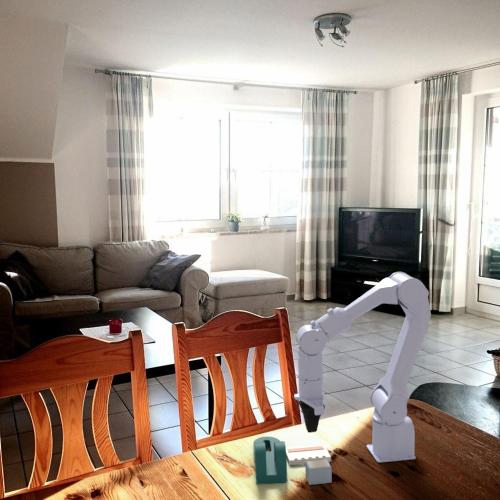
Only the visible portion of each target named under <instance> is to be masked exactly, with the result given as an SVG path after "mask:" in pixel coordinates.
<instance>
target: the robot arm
mask: <svg viewBox="0 0 500 500" xmlns="http://www.w3.org/2000/svg"><path fill="white" fill-rule="evenodd" d="M383 304H388V305H400V307H401V308H402V310H403V312H404V313H405V317H404V321H403V323H402V327H401V329H400V332H399V336H398V338H397V341H396V344H395V346H394V350H393V352H392V354H391V358H390V362H389V364H388V367H387V369H386V371H385V372H386V373H385V375H384V376H383V377H381V378H380V379H379V381H378V383H377V385H376V386H375V388H373V389H372V391H371V393H370V396H369V399H370V403H371V405H372V407H373V408H374V411H373V413H372V432H371V433H372V435H371V436H372V439H371V442H372V444H367V445H365V446H366V448H367V450H368V451H369V452H370V454H371V455H372V456H373V458H374V460H375V461H376V462H377V463H387V462H398V461H408V460H410V461H411V460H416V455H415V436H416V435H415V433H416V432H415V427H414V424H413V423H414V422H413V420H412V418H410V417H409V416H408V415H407V414H408V408H407V405H408V400H409V393H408V382H409V380H410V377H411V375H412V372H413V369H414V365H415V363H416V361H417V360H416V359H417V357H418V354H419V352H420V348H421V346H422V344H423V340H424V337H425V335H426V332H427V329H428V326H429V323H430V321H431V318H432V317H431V316H432V313H431V307H430V302H429V290H428V289H427V288H426V285H425V284H424V283H423V282H422V281H421V280H420V279H418V278H415V277H412V276H410V275H409V274H408V273H406V272H403V271H396V272H393V273H392V274H391V275H390V276H388V277H385V278H383V279H382V280H381V281H379V282H378V283H377V284H376V285H374V287H372V288H371V289H369V290H367V291H366V292H365V293H364V294H362V295H361V296H360V297H358V298H357V299H355V300H354V301H352V302H351V303H350V304H348V305H347V306H346V307H345V306H344V307H337V306H336V307H334V308H332V307H330V308H329V309H327V310H326V312H327V313H325V314H324V315H322V316H321V317H319V318H318V319H316V320H314V319H313V320H311V321H310V322H309V324H305V325H303V326H301V327H300V328H299V329H298V331H297V332H296V335H295V340H296V342H297V344H298V351H297V352H298V353H297V354H298V357H297V360H298V365H297V366H298V367H297V368H298V393H294V395H293V398H294V399H295V400H296V401H297V403H298V405H299V407H300V409H301V411H302V412H301V413H302V415H303V416H302V417H303V420H304V426H305V429H306V431H307V433H316V432H317V431H318V428H319V424H320V420H321V419H320V418H321V416H323V415H324V414H325V407H326V405H325V404H324V399H325V394H324V377H323V376H324V373H323V372H324V364H323V362H324V360H323V352H324V348H325V347H326V344H327V343H329V342H330V341H333V340H334V339H336V338H337V337H339V336H341V335H342V334H343V333H345V332H346V331H348V330H349V329H351V327H352V323H353V321H354V320H356V319H357V318H359V317H361V316H363V315H364V314H366V313H368V312H370V311H371V310H373V309H374V308H376V307H378V306H380V305H383Z"/></svg>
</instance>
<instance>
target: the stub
mask: <svg viewBox="0 0 500 500" xmlns="http://www.w3.org/2000/svg"><path fill="white" fill-rule="evenodd" d="M304 465H305V478H306V481H307V482H308V485H309V486H311V485H319V484H321V485H322V484H329V483H332V472H333V471H332V470H333V469H332V466H331V464H330V461H329V462H328V460H327V459H324V460H313V461H305V464H304Z"/></svg>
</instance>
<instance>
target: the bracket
mask: <svg viewBox="0 0 500 500" xmlns="http://www.w3.org/2000/svg"><path fill="white" fill-rule="evenodd" d="M285 442H286V441H282V440H280V439H278V437H274V436H261V437H258V438H255V440H254V441H253V443H252V444H253V460H254V470H255V472H254V473H255V481H256V485H274V484H275V485H276V484H287V483H288V460H287V457H286V448H287V447H286V443H285ZM266 448H268V449H270V451H266Z"/></svg>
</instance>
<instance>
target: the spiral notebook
mask: <svg viewBox="0 0 500 500" xmlns="http://www.w3.org/2000/svg"><path fill="white" fill-rule="evenodd" d="M286 457H287V464H289V466H294V465H295V466H297V465H306V464H305V461H313V460H324V459H327V460H328V462H329V463H330V462H332V456H331V454H330V453H329V451H328V449H327V448H326V445H325V444H315V445H313V444H312V445H303V446H302V445H301V446H292V447H286Z"/></svg>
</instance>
